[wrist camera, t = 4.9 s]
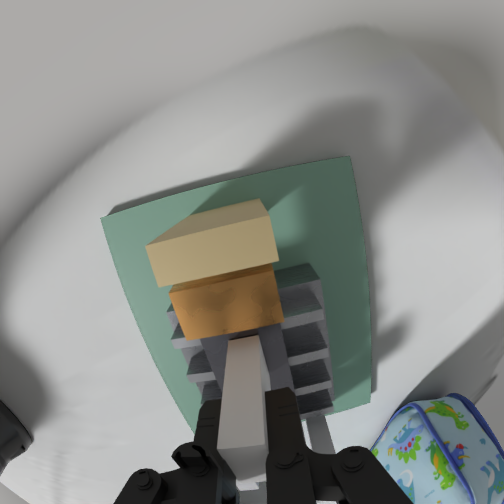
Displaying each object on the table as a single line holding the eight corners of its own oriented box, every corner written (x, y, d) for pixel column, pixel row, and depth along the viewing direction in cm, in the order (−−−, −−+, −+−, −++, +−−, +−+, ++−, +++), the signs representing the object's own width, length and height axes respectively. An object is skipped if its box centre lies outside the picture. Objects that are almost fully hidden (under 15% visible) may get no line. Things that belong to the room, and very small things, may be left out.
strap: (253, 454, 18) (254, 476, 16) (179, 274, 13) (168, 293, 11) (308, 445, 18) (313, 466, 16) (268, 254, 13) (273, 270, 11)
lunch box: (383, 482, 33) (412, 566, 12) (329, 491, 32) (350, 588, 12) (460, 377, 26) (541, 480, 6) (401, 385, 25) (483, 529, 5)
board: (196, 429, 26) (184, 502, 17) (106, 216, 20) (23, 246, 11) (367, 396, 25) (400, 465, 16) (345, 156, 19) (419, 145, 10)
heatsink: (218, 396, 24) (213, 440, 18) (177, 291, 21) (157, 327, 15) (325, 375, 23) (340, 417, 18) (308, 262, 20) (329, 291, 15)
